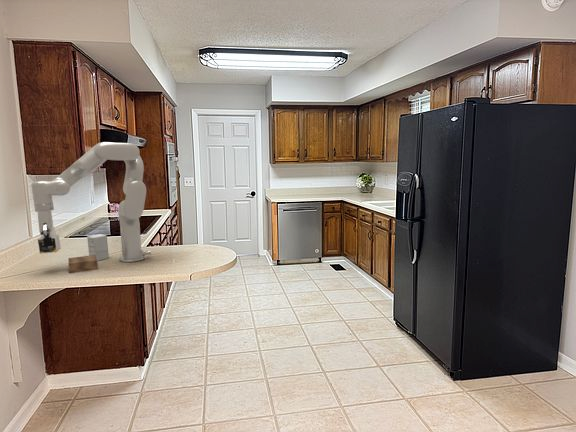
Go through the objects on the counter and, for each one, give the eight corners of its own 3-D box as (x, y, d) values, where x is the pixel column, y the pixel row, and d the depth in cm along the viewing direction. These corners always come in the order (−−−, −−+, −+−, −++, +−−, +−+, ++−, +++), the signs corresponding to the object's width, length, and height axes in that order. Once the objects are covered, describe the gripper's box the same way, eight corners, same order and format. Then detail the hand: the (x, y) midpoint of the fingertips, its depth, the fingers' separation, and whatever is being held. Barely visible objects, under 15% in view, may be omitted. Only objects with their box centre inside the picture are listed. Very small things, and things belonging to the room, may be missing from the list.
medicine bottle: (39, 254, 187) (35, 228, 185) (44, 250, 194) (40, 225, 192) (56, 252, 189) (53, 227, 187) (60, 248, 195) (57, 224, 193)
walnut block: (96, 264, 205) (95, 254, 204) (97, 270, 195) (96, 260, 194) (69, 267, 199) (68, 258, 199) (69, 273, 189) (68, 263, 188)
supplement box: (102, 256, 220) (100, 233, 218) (109, 258, 216) (107, 235, 214) (88, 259, 215) (86, 235, 213) (95, 261, 210) (93, 237, 208)
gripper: (37, 206, 194) (42, 241, 197) (32, 210, 178) (37, 249, 181) (55, 204, 197) (60, 239, 200) (51, 208, 181) (56, 247, 184)
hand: (49, 244), depth 191 cm, fingers closed on medicine bottle, 7 cm apart
